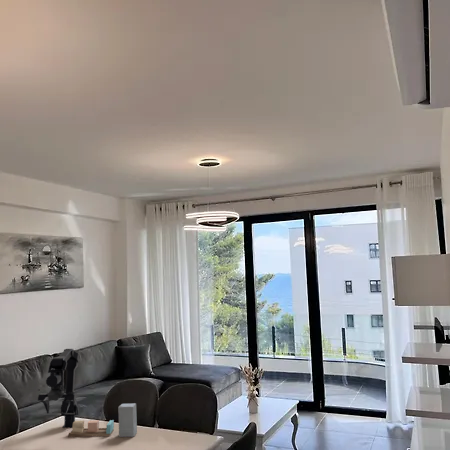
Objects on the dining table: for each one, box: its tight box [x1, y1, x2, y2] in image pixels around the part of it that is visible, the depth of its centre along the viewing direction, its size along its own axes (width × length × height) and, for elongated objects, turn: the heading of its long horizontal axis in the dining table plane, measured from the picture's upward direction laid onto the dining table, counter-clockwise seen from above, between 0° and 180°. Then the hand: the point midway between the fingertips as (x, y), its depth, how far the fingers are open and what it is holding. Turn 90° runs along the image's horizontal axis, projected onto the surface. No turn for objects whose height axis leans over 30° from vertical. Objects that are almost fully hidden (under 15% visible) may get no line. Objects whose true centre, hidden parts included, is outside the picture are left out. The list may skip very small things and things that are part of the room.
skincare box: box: [117, 402, 138, 438], centre depth 246 cm, size 8×7×16 cm
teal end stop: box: [106, 419, 115, 434], centre depth 249 cm, size 9×2×4 cm, turn 2°
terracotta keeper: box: [87, 419, 100, 432], centre depth 249 cm, size 4×5×5 cm
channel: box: [67, 427, 115, 438], centre depth 248 cm, size 9×22×2 cm, turn 92°
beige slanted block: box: [71, 420, 85, 432], centre depth 248 cm, size 4×5×5 cm
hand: (56, 413), depth 240 cm, fingers open, 9 cm apart
